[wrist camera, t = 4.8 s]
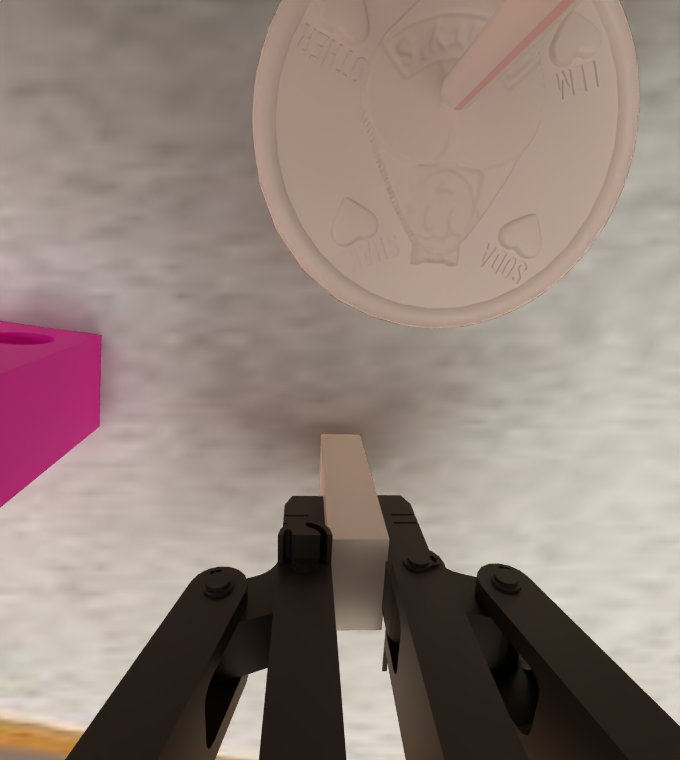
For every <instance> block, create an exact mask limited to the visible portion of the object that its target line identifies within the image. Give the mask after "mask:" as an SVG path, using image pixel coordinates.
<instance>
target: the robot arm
mask: <svg viewBox="0 0 680 760" xmlns="http://www.w3.org/2000/svg"><path fill="white" fill-rule="evenodd" d="M383 617H384V622H385V627H386V632H385V643H384V654H383V666H382V671H387V663H388V668H389V673H390V679H391V684H392V689H393V695H394V700H395V705H396V710H397V716H398V721H399V726H400V732H401V737H402V742H403V747H404V753H405V758H406V760H680V726H679V725H678V724H677V723H676V722H675V721H674V720H673V719H672V718H671V717H670V716H669V715H668V714H667V713H666V712H665V711H664V710H663V709H662V708H661V707H660V706H659V705H658V704H657V703H656V702H655V701H654V700H653V699H652V698H651V697H650V696H649V695H648V694H647V693H645V692H644V691H643V690H642V689H641V688H640V687H639V686H638V685H637V684H636V683H635V682H634V681H633V680H632V679H631V678H630V677H629V676H628V675H627V674H626V673H625V672H624V671H623V670H622V669H621V668H620V667H619V666H618V665H617V664H616V663H615V662H614V661H613V660H612V659H611V658H610V657H609V656H608V655H607V654H606V653H605V652H604V651H603V650H602V649H601V648H600V647H599V646H598V645H597V644H596V643H595V642H594V641H593V640H592V639H591V638H590V637H589V636H588V635H587V634H586V633H585V632H584V631H583V630H582V629H581V628H580V627H578V626H577V625H576V624H575V623H574V622H573V621H572V620H571V619H570V618H569V617H568V616H567V615H566V614H565V613H564V612H563V611H562V610H561V609H560V608H559V607H558V606H557V605H556V604H555V603H554V602H553V601H552V600H551V599H550V598H549V597H548V596H547V595H546V594H545V593H544V592H543V591H542V590H541V589H540V588H539V587H538V586H537V585H536V584H535V583H534V582H533V581H532V580H531V579H530V578H529V577H528V576H526V575H525V574H524V573H522V572H521V571H520V570H517V569H515V568H513V567H511V566H507V565H503V564H488V565H485V566H483V567H481V568H480V570H479V571H478V573H477V577H473V576H469V575H464V574H460V573H457V572H453V571H451V570H449V569H447V568H446V567H445V565H444V563H443V561H442V560H441V558H440V557H439V556H438V555H436V554H435V553H433V552H432V551H430V550H429V549H428V546H427V544H426V541H425V539H424V536H423V534H422V531H421V529H420V527H419V524H418V522H417V519H416V517H415V516H414V512H413V509H412V507H411V504H410V503H409V502H407V501H406V500H405V499H404V498H403V497H402V496H400V495H377V493H376V490H375V486H374V483H373V479H372V476H371V472H370V469H369V465H368V462H367V458H366V454H365V451H364V447H363V444H362V440H361V437H360V435H353V434H321V451H320V477H319V496H292V497H291V498H290V499H289V501H288V502H287V503H286V504H285V510H284V521H283V527H282V528H281V530H280V532H279V534H278V562H277V564H276V565H275V566H274V567H273V568H272V569H271V570H269V571H267V572H266V573H264V574H261V575H258V576H255V577H251V578H247V579H246V577H245V575H244V574H243V573H242V572H241V571H239V570H237V569H234V568H231V567H216V568H211V569H208V570H206V571H204V572H202V573H200V574H198V575H197V576H196V577H195V578H194V579H193V580H192V581H191V582H190V584H189V585H188V587H187V588H186V589H185V591H184V592H183V594H182V595H181V596H180V598H179V599H178V601H177V602H176V604H175V605H174V606H173V608H172V609H171V611H170V612H169V613H168V615H167V616H166V618H165V619H164V621H163V622H162V623H161V625H160V626H159V628H158V629H157V630H156V632H155V633H154V635H153V636H152V637H151V639H150V640H149V642H148V643H147V645H146V646H145V647H144V649H143V650H142V652H141V653H140V654H139V656H138V657H137V659H136V660H135V662H134V663H133V664H132V666H131V667H130V669H129V670H128V671H127V673H126V674H125V676H124V677H123V679H122V680H121V681H120V683H119V684H118V686H117V687H116V688H115V690H114V691H113V693H112V694H111V696H110V697H109V698H108V700H107V701H106V703H105V704H104V705H103V707H102V708H101V710H100V711H99V713H98V714H97V715H96V717H95V718H94V720H93V721H92V722H91V724H90V725H89V727H88V728H87V730H86V731H85V732H84V734H83V735H82V737H81V738H80V739H79V741H78V742H77V744H76V745H75V747H74V748H73V749H72V751H71V752H70V754H69V755H68V756H67V758H66V759H65V760H215V758H216V755H217V753H218V751H219V748H220V746H221V743H222V741H223V738H224V736H225V733H226V731H227V728H228V726H229V724H230V721H231V719H232V716H233V714H234V711H235V709H236V706H237V704H238V701H239V699H240V697H241V694H242V692H243V689H244V687H245V684H246V682H247V677H248V674H250V673H253V672H256V671H259V670H262V669H265V668H268V672H267V682H266V693H265V703H264V714H263V724H262V734H261V745H260V755H259V760H346V750H345V737H344V724H343V711H342V698H341V685H340V672H339V659H338V646H337V632H336V630H381V629H382V618H383Z"/></svg>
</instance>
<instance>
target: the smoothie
mask: <svg viewBox="0 0 680 760" xmlns="http://www.w3.org/2000/svg"><path fill="white" fill-rule="evenodd" d="M639 107H640V87H639V74H638V64H637V58H636V52H635V47H634V42H633V39H632V35H631V31H630V27H629V24H628V21H627V18H626V16H625V13H624V10H623V7H622V5H621V2H620V0H281V2H280V4H279V6H278V8H277V10H276V13H275V15H274V17H273V19H272V22H271V24H270V26H269V29H268V32H267V35H266V38H265V41H264V44H263V47H262V50H261V54H260V59H259V63H258V67H257V71H256V78H255V85H254V92H253V108H252V129H253V144H254V152H255V160H256V164H257V169H258V178H259V184H260V187H261V190H262V192H263V195H264V198H265V201H266V203H267V206H268V209H269V212H270V215H271V217H272V220H273V223H274V226H275V228H276V231H277V232H278V234H279V235H280V237H281V238H282V240H283V241H284V243H285V244H286V246H287V247H288V248H289V250H290V251H291V253H292V254H293V256H294V257H295V259H296V260H297V262H298V263H299V265H300V266H301V268H302V269H303V270H304V271H305V272H306V273H307V274H308V275H310V276H311V277H312V278H313V279H314V280H315V281H316V282H317V283H319V284H320V285H321V286H322V287H323V288H324V289H325V290H327V291H328V292H329V293H330V294H331V295H332V296H333V297H335V298H336V299H337V300H339V301H341V302H343V303H345V304H347V305H349V306H351V307H353V308H355V309H357V310H360V311H362V312H364V313H366V314H368V315H370V316H372V317H374V318H377V319H382V320H386V321H389V322H392V323H396V324H401V325H406V326H411V327H420V328H453V327H462V326H467V325H473V324H478V323H481V322H484V321H488V320H491V319H495V318H497V317H500V316H502V315H504V314H507V313H509V312H512V311H514V310H516V309H517V308H519V307H521V306H523V305H525V304H527V303H529V302H530V301H532V300H533V299H535V298H536V297H538V296H540V295H541V294H543V293H544V292H545V291H546V290H548V289H549V288H550V287H552V286H553V285H554V284H556V283H557V282H558V281H559V280H560V279H561V278H562V277H563V276H564V275H565V274H567V273H568V272H569V271H570V270H571V269H572V268H573V266H574V265H575V264H576V263H577V262H578V261H579V260H580V259H581V258H582V257H583V255H584V254H585V253H586V251H587V250H588V249H589V248H590V246H591V245H592V244H593V243H594V241H595V240H596V238H597V237H598V235H599V233H600V232H601V230H602V229H603V227H604V226H605V224H606V222H607V220H608V218H609V217H610V215H611V213H612V211H613V209H614V207H615V205H616V203H617V200H618V198H619V196H620V194H621V191H622V189H623V186H624V183H625V180H626V177H627V175H628V172H629V168H630V164H631V160H632V157H633V153H634V148H635V142H636V136H637V131H638V120H639Z"/></svg>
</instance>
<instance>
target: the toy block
mask: <svg viewBox="0 0 680 760" xmlns="http://www.w3.org/2000/svg"><path fill="white" fill-rule="evenodd" d="M100 379H101V335H96V334H89V333H82V332H75V331H67V330H60V329H53V328H46V327H39V326H32V325H25V324H18V323H10V322H3V321H0V507H2V506H3V505H4V504H5V503H6V502H8V501H9V500H10V499H11V498H13V497H14V496H15V495H16V494H17V493H19V492H20V491H21V490H22V489H24V488H25V487H26V486H27V485H28V484H30V483H31V482H32V481H33V480H35V479H36V478H37V477H38V476H39V475H41V474H42V473H43V472H44V471H46V470H47V469H48V468H49V467H50V466H52V465H53V464H54V463H55V462H57V461H58V460H59V459H60V458H61V457H63V456H64V455H65V454H66V453H68V452H69V451H70V450H71V449H72V448H74V447H75V446H76V445H77V444H79V443H80V442H81V441H82V440H83V439H85V438H86V437H87V436H88V435H89V434H91V433H92V432H93V431H94V430H96V429H97V428H98V427H99V423H100Z"/></svg>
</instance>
